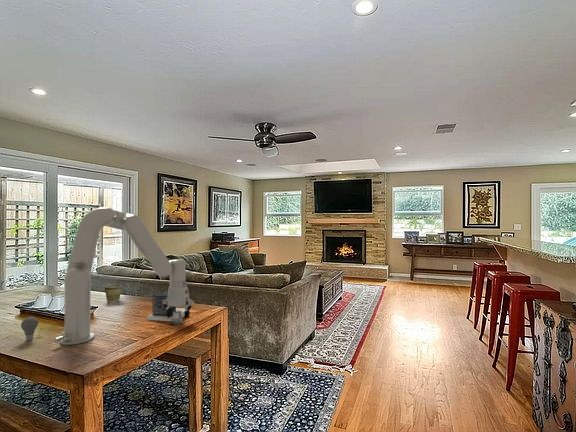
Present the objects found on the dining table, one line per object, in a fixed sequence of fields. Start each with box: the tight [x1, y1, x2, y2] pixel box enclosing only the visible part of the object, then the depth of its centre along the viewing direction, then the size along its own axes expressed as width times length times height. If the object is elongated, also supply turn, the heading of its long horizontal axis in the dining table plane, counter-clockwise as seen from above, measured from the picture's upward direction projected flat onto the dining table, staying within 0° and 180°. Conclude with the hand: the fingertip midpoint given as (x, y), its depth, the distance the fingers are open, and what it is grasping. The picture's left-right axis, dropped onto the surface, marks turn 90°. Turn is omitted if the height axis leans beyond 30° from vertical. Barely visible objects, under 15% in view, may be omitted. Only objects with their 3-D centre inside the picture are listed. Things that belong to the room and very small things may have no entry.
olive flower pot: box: [104, 283, 123, 304], centre depth 211 cm, size 13×10×10 cm
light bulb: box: [20, 316, 39, 341], centre depth 142 cm, size 6×6×10 cm
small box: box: [152, 292, 177, 316], centre depth 175 cm, size 11×6×10 cm, turn 81°
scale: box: [146, 307, 186, 322], centre depth 178 cm, size 18×17×3 cm
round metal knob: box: [172, 311, 183, 326], centre depth 165 cm, size 4×4×6 cm
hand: (178, 317), depth 165 cm, fingers open, 9 cm apart
